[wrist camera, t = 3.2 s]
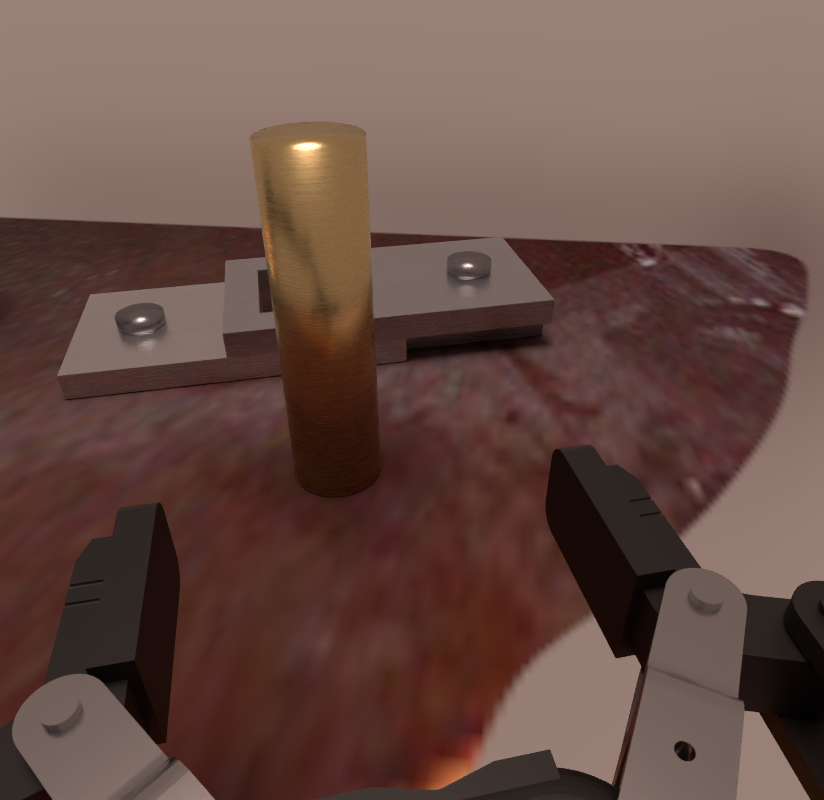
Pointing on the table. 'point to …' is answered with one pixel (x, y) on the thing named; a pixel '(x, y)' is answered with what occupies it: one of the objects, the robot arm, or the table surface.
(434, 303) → the bolted metal plate
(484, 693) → the table surface
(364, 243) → the brass pin
